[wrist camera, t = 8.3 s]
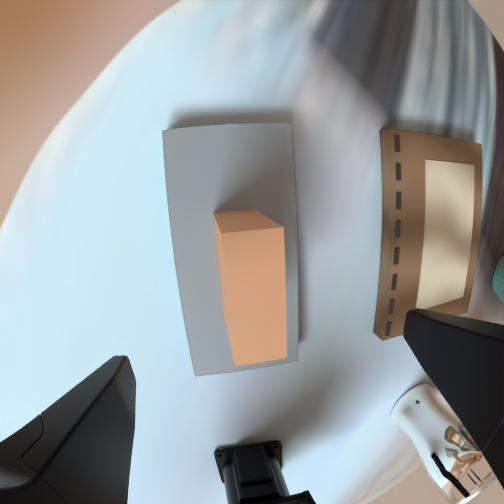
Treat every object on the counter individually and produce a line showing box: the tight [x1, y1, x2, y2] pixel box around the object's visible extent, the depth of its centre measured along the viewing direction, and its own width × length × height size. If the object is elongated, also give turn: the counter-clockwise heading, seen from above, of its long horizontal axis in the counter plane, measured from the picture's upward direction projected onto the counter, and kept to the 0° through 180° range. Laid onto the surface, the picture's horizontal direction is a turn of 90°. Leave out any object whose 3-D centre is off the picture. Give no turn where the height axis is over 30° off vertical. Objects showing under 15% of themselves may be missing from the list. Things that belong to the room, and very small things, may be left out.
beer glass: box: [390, 384, 497, 504], centre depth 20 cm, size 7×7×15 cm
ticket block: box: [373, 129, 482, 341], centre depth 21 cm, size 16×11×2 cm
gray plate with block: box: [162, 123, 298, 376], centre depth 16 cm, size 16×7×8 cm, turn 4°
